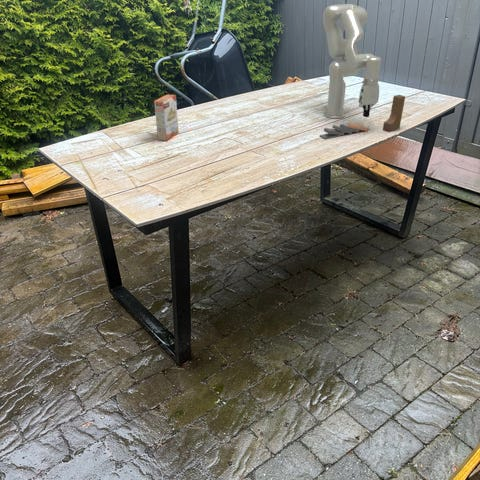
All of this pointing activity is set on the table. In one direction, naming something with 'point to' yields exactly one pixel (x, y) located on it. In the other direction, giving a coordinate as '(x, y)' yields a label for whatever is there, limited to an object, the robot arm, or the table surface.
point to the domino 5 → (358, 127)
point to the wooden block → (395, 114)
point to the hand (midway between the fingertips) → (365, 116)
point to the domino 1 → (329, 136)
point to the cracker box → (166, 117)
